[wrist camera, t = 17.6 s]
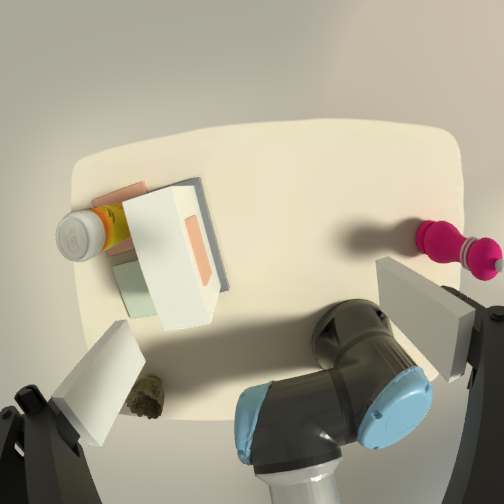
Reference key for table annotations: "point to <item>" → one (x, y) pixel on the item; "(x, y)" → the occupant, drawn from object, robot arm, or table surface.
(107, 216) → the beer can
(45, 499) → the robot arm
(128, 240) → the terracotta pad
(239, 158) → the table surface
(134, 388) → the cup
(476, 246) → the pepper mill
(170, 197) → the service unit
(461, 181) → the table surface
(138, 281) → the sage pad
